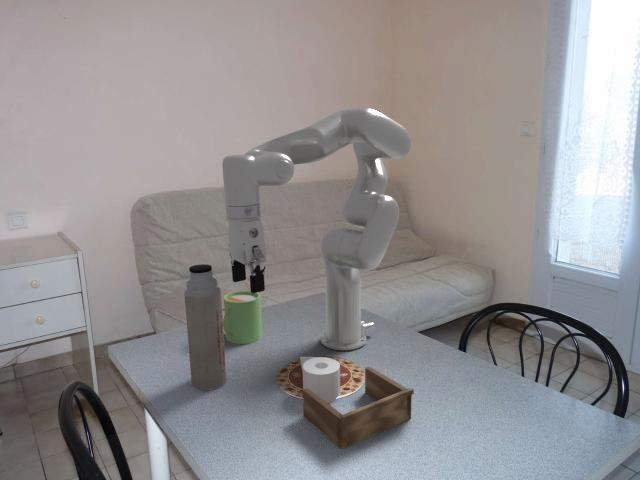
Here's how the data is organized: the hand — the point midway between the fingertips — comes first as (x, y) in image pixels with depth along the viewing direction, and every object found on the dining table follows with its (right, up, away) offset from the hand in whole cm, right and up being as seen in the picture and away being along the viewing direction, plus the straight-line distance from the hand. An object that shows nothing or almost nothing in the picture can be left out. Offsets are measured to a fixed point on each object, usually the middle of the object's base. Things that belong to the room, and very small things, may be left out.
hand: (248, 286), depth 115 cm
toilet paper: (+16, -24, -1) cm, 29 cm away
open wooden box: (+23, -25, -11) cm, 36 cm away
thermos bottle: (-10, -23, +3) cm, 25 cm away
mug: (-6, -17, +28) cm, 34 cm away
